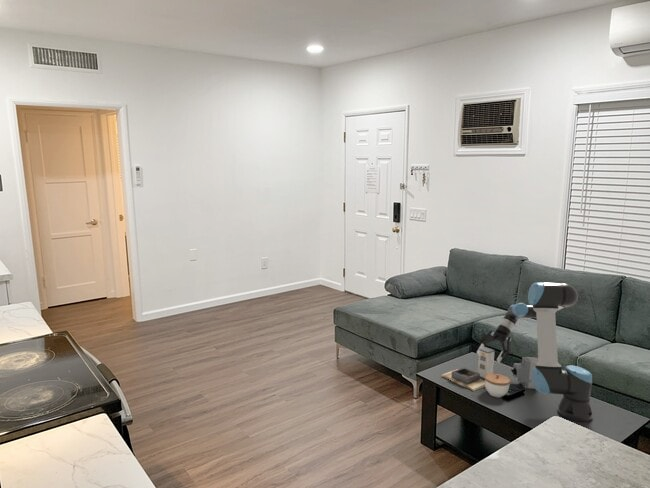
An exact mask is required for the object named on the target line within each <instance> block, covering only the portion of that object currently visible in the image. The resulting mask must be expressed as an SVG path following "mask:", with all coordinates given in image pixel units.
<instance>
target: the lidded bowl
mask: <svg viewBox="0 0 650 488" xmlns="http://www.w3.org/2000/svg"><path fill="white" fill-rule="evenodd" d="M484 381H485V387H484V388H485V390H486V391H487V392H488V394H489V396H492V397H494V398H503V397H504V396H505V395H507V393H508V391H509V389H510V383H511V379H510V378H509V377H508V376H506V375H503V373H502V374H501V373H498V372H497V373H495V372H493V373H489V374H486V375H485V378H484ZM502 396H503V397H502Z"/></svg>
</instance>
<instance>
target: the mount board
mask: <svg viewBox="0 0 650 488" xmlns="http://www.w3.org/2000/svg"><path fill="white" fill-rule="evenodd" d="M458 369H459V368H456V369H454V370H451V371H448V372H445V373H443V374H442V373H441V377H442V378H444V379H447V380H448V379H449V381H450V380H451V381H450V382H453V383H455V384H456V385H459V386H462V387H464V388H465V389H468V390H470V391H472V392H475V391H478V390H480V389H482V388H486V387H485V379H482V378H480V380H478V381H475V382H473V383H470V384H465V383H463V382H460V381H458V380H456V379H454V378H452V377H451V375H452V371H455V370H458ZM463 376H465V377H469V376H467V375H465V374H463Z"/></svg>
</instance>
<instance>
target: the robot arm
mask: <svg viewBox="0 0 650 488" xmlns="http://www.w3.org/2000/svg"><path fill="white" fill-rule="evenodd" d="M578 299H579V294H578V292H577V289H576V288H575V287H573V286H572V285H570V284H569V283H564V282H544V281H543V282H541V281H540V282H533V283H532V284H531V285H530V286H529V289H528V293H527V302H528V304H525V303H523V302H518V303H516V304H511V305H510V307H508V309H507V311H506V313H505V315H504V316H503V318H502V319H501V322H499V325H498V326H497V328H496V330H495V332H494V331H492V330H489V332H488V333H487V334H485V335H484V336H483V337H481V338H480V339H478V342H479V343H480V344H479V345H478V349H477V350H476V354H477V355H478V356H479V349H481V348H484V347H486V346H485V345H487V344H489V343H491V342H498V343H501V347H502V350H501V352H500V354H499V355H498V357H497V358H496V361H497V363H498V364H500V363H501V361H502V359H504V358H505V357H506V355H507V354H509V355H510V354H511V350H512V349H511V348H512V347H511V345H512V341H513V338H512V337H511V336H510V334H511V332H512V331H513V329H514V327H515V325H516V324H517V322H518V321H519V320H520V319H521V318H522V319H523V318H524V319H536V333H537V334H536V336H537V355H538V356H537V358H538V362H537V363H536V364H535V368H534V369H532V371H531V379H532V383H533V386H534V388H535V389H534V390H536V391H537V392H538V393H539V394H546V395H550V394H551V395H562V397H561V399H560V401H559V403H558V404H557V413H558V414H559V415H561V417H564V418H566V419H568V420H572V421H575V422H585V423H586V422H590V421H592V419H593V416H594V415H593V414H594V413H593V410H592V405H591V393H592V387H593V386H592V384H593V374H592V373H591V371H588V370H587V369H586V368H584V367H581V366H577V365H572V364H570V365H566V366H565V367H564V368H565V369H562V365H561V364H560V363H559V362H558V361H559V360H558V358H559V357H558V344H557V343H558V342H557V341H558V338H557V324H556V322H557V321H556V313H557V312H558V311H560V310H562V309H564V308H565V309H568V308H571V307H572V306H574V305H576V303H577V302H578ZM506 341H507V342H506Z"/></svg>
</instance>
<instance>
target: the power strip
mask: <svg viewBox="0 0 650 488" xmlns="http://www.w3.org/2000/svg"><path fill="white" fill-rule="evenodd" d="M478 349H479V348H478ZM494 363H495V349H492V348H489V347H487V346H485V347H484V348H481V349H479V355H478V361H477V373H479V374H480V378H483V379H485V375H486V374H489V373H494Z"/></svg>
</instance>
